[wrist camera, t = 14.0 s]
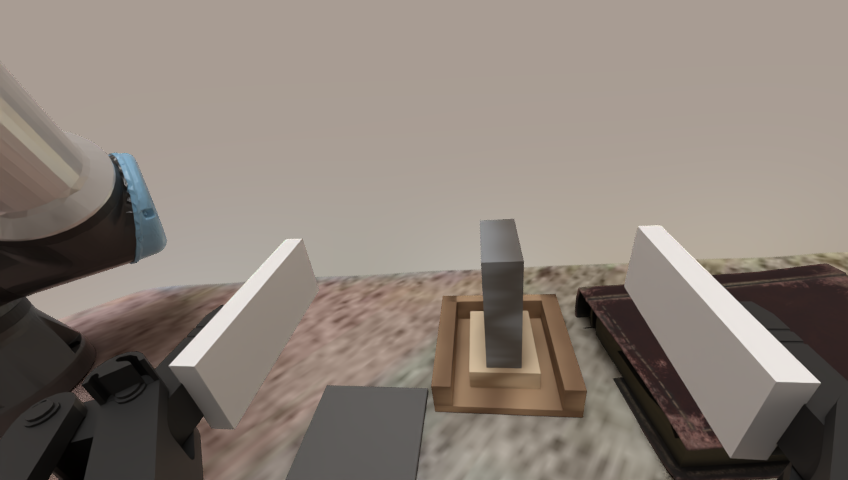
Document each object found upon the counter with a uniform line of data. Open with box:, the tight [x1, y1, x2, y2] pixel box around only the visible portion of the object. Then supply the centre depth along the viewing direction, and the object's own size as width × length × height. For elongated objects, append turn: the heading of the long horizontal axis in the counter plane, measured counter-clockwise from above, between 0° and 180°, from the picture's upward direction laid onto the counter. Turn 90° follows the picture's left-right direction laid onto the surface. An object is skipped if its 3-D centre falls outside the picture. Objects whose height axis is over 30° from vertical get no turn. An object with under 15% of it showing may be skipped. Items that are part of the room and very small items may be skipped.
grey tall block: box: [469, 219, 541, 389], centre depth 31 cm, size 6×8×13 cm
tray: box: [431, 294, 587, 417], centre depth 34 cm, size 12×12×3 cm
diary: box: [575, 264, 848, 480], centre depth 29 cm, size 19×25×5 cm
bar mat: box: [286, 385, 428, 480], centre depth 29 cm, size 10×10×1 cm
